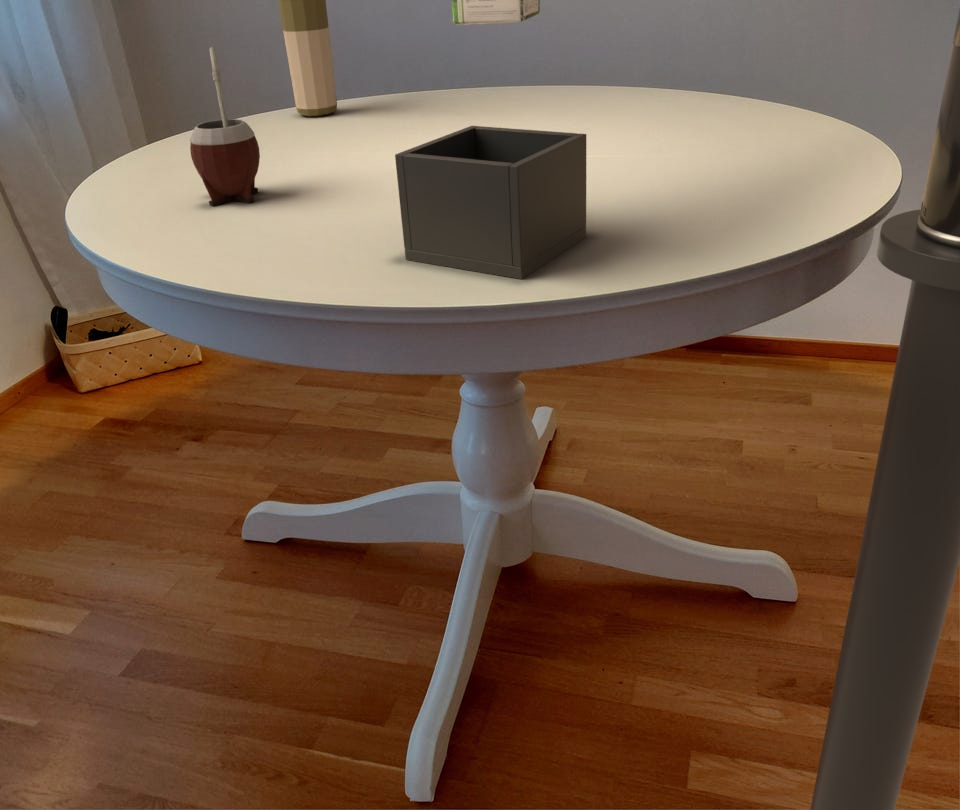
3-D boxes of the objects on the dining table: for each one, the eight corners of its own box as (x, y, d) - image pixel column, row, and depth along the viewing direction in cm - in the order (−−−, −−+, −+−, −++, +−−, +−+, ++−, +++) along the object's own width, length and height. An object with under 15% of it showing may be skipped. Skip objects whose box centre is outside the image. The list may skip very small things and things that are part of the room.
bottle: (324, 108, 143) (295, -105, 129) (349, 112, 138) (321, -108, 124) (286, 115, 139) (252, -104, 125) (311, 120, 134) (278, -107, 120)
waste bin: (586, 236, 79) (586, 133, 74) (521, 279, 70) (517, 166, 66) (477, 221, 84) (471, 125, 80) (405, 259, 76) (394, 154, 72)
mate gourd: (228, 211, 92) (197, 59, 85) (184, 201, 97) (151, 56, 90) (283, 193, 97) (258, 49, 90) (238, 185, 102) (212, 46, 95)
